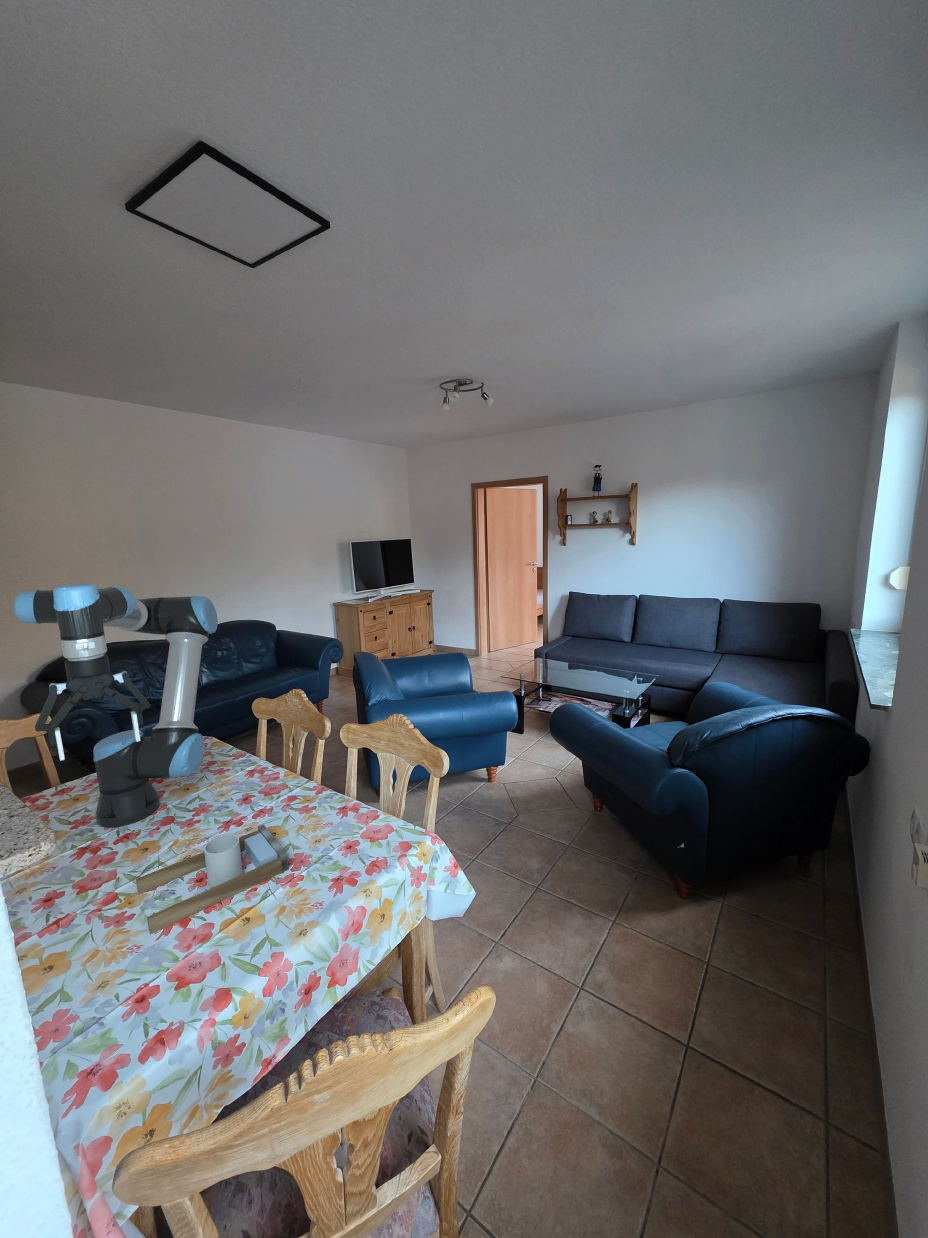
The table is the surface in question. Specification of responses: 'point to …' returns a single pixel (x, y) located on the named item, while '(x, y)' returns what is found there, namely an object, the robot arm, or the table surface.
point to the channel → (212, 894)
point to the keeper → (259, 850)
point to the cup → (223, 859)
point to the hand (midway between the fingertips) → (101, 748)
